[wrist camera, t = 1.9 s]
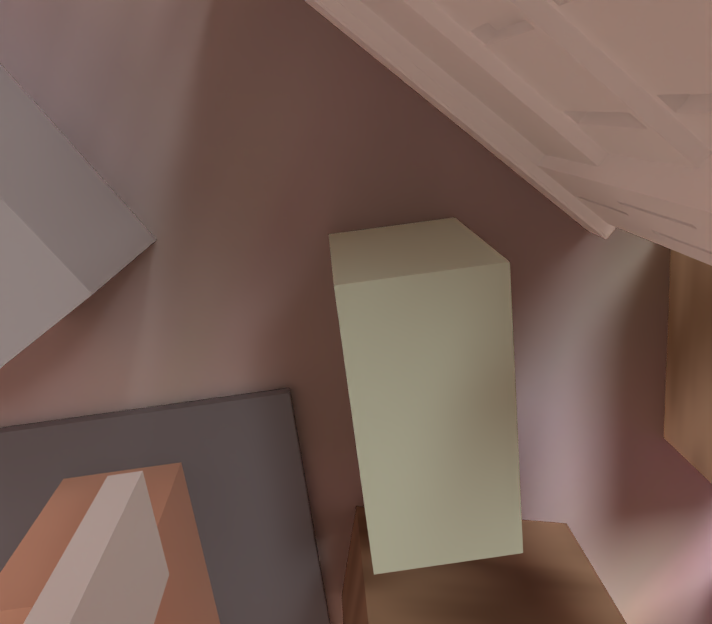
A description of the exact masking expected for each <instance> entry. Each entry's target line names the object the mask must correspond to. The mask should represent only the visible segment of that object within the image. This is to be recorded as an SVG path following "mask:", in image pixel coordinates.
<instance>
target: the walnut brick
mask: <svg viewBox="0 0 712 624" xmlns="http://www.w3.org/2000/svg"><path fill="white" fill-rule="evenodd" d="M522 538H523V553H520V554H513V555H506V556H499V557H492V558H485V559H478V560H471V561H465V562H458V563H451V564H444V565H437V566H430V567H423V568H416V569H409V570H402V571H395V572H388V573H381V574H375V575H374V572H373V565H372V557H371V550H370V543H369V536H368V529H367V521H366V514H365V507H361V506H356V511H355V517H354V523H353V530H352V536H351V542H350V548H349V554H348V560H347V566H346V572H345V578H344V585H343V591H342V608H343V624H627V623H626V622H625V620H624V618H623V617H622V615H621V613H620V612H619V610H618V608H617V607H616V605H615V603H614V602H613V600H612V598H611V597H610V595H609V593H608V592H607V590H606V588H605V587H604V585H603V583H602V582H601V580H600V578H599V577H598V575H597V573H596V572H595V570H594V568H593V567H592V565H591V563H590V562H589V560H588V558H587V557H586V555H585V553H584V552H583V550H582V548H581V547H580V545H579V543H578V542H577V540H576V538H575V537H574V535H573V533H572V532H571V530H570V528H569V527H568V525H567V523H555V522H542V521H530V520H522Z"/></svg>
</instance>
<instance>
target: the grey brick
mask: <svg viewBox="0 0 712 624" xmlns="http://www.w3.org/2000/svg"><path fill="white" fill-rule="evenodd" d="M155 241H156V238H155V237H154V236H153V235H152V234H151V233H150V232H149V231H148V229H147V228H146V227H145V226H144V225H143V224H142V223H141V221H140V220H139V219H138V218H137V217H136V216H135V215H134V214H133V212H132V211H131V210H130V209H129V208H128V207H127V206H126V205H125V203H124V202H123V201H122V200H121V199H120V198H119V197H118V196H117V194H116V193H115V192H114V191H113V190H112V189H111V188H110V186H109V185H108V184H107V183H106V182H105V181H104V180H103V179H102V177H101V176H100V175H99V174H98V173H97V172H96V171H95V170H94V168H93V167H92V166H91V165H90V164H89V163H88V162H87V161H86V159H85V158H84V157H83V156H82V155H81V154H80V153H79V151H78V150H77V149H76V148H75V147H74V146H73V145H72V144H71V142H70V141H69V140H68V139H67V138H66V137H65V136H64V135H63V133H62V132H61V131H60V130H59V129H58V128H57V127H56V126H55V124H54V123H53V122H52V121H51V120H50V119H49V118H48V116H47V115H46V114H45V113H44V112H43V111H42V110H41V109H40V107H39V106H38V105H37V104H36V103H35V102H34V101H33V100H32V98H31V97H30V96H29V95H28V94H27V93H26V92H25V90H24V89H23V88H22V87H21V86H20V85H19V84H18V83H17V81H16V80H15V79H14V78H13V77H12V76H11V75H10V74H9V72H8V71H7V70H6V69H5V68H4V67H3V66H2V65H1V63H0V368H1V367H2V366H4V365H5V364H6V363H7V362H9V361H10V360H11V359H12V358H14V357H15V356H16V355H17V354H19V353H20V352H21V351H22V350H24V349H25V348H26V347H27V346H29V345H30V344H31V343H32V342H34V341H35V340H36V339H37V338H39V337H40V336H41V335H42V334H44V333H45V332H46V331H47V330H49V329H50V328H51V327H52V326H54V325H55V324H56V323H57V322H59V321H60V320H61V319H62V318H64V317H65V316H66V315H67V314H69V313H70V312H71V311H72V310H74V309H75V308H76V307H77V306H79V305H80V304H81V303H82V302H84V301H85V300H86V299H87V298H89V297H90V296H91V295H92V294H94V293H95V292H96V291H97V290H98V289H99V288H101V287H102V286H103V285H104V284H105V283H107V282H108V281H109V280H110V279H111V278H112V277H114V276H115V275H116V274H117V273H118V272H119V271H121V270H122V269H123V268H124V267H125V266H127V265H128V264H129V263H130V262H131V261H132V260H134V259H135V258H136V257H137V256H138V255H139V254H141V253H142V252H143V251H144V250H145V249H146V248H148V247H149V246H150V245H151V244H152V243H154V242H155Z"/></svg>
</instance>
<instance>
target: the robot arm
mask: <svg viewBox="0 0 712 624" xmlns="http://www.w3.org/2000/svg"><path fill="white" fill-rule="evenodd" d="M168 577H169V571H168V567H167V563H166V559H165V556H164V552H163V548H162V544H161V540H160V536H159V532H158V528H157V524H156V521H155V517H154V513H153V509H152V505H151V501H150V497H149V493H148V489H147V486H146V482H145V478H144V474H143V471H137V472H130V473H123V474H116V475H109V476H107V478H106V479H105V481H104V483H103V485H102V486H101V488H100V490H99V492H98V493H97V495H96V497H95V499H94V501H93V502H92V504H91V506H90V508H89V509H88V511H87V513H86V515H85V516H84V518H83V520H82V522H81V523H80V525H79V527H78V529H77V530H76V532H75V534H74V536H73V537H72V539H71V541H70V543H69V544H68V546H67V548H66V550H65V551H64V553H63V555H62V557H61V558H60V560H59V562H58V564H57V565H56V567H55V569H54V571H53V572H52V574H51V576H50V578H49V579H48V581H47V583H46V585H45V586H44V588H43V590H42V592H41V593H40V595H39V597H38V599H37V600H36V602H35V604H34V606H33V607H32V609H31V611H30V613H29V614H28V616H27V618H26V620H25V621H24V623H23V624H154V622H155V619H156V615H157V612H158V609H159V606H160V603H161V599H162V596H163V593H164V590H165V587H166V583H167V580H168Z"/></svg>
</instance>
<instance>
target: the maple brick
mask: <svg viewBox="0 0 712 624" xmlns="http://www.w3.org/2000/svg"><path fill="white" fill-rule="evenodd" d="M664 439H665V440H666V441H668V442H669V443H670V444H671V445H672V446H673V447H674V448H675V449H676V450H677V451H678V452H679V453H680V454H681V455H682V456H683V457H684V458H685V459H686V460H687V461H688V462H689V463H690V464H692V465H693V466H694V467H695V468H696V469H697V470H698V471H699V472H700V473H701V474H702V475H703V476H704V477H705V478H706V479H707V480H708V481H709V482H710V483H711V484H712V266H711V265H708V264H706V263H703V262H701V261H699V260H696V259H694V258H691V257H689V256H686V255H684V254H681V253H679V252H676V251H674V250H671V255H670V282H669V308H668V334H667V360H666V387H665V413H664Z"/></svg>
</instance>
